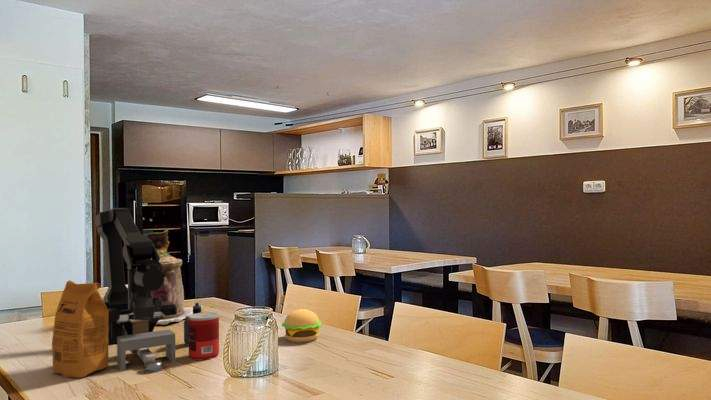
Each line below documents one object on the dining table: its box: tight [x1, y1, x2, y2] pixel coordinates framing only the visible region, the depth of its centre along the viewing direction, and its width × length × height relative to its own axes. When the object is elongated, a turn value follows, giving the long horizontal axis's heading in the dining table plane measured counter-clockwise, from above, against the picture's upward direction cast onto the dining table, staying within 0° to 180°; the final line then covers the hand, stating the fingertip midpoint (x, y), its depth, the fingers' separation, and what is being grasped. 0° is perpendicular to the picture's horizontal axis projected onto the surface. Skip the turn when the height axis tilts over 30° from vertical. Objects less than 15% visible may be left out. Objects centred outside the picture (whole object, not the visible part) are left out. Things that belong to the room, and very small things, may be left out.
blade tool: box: [129, 320, 156, 363], centre depth 134 cm, size 16×4×8 cm, turn 34°
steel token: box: [143, 359, 163, 374], centre depth 126 cm, size 4×4×2 cm
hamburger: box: [281, 308, 322, 343], centre depth 155 cm, size 12×12×9 cm
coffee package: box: [51, 280, 110, 379], centre depth 125 cm, size 10×12×22 cm
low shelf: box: [116, 328, 176, 371], centre depth 132 cm, size 6×13×7 cm, turn 124°
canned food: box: [188, 311, 220, 361], centre depth 137 cm, size 8×8×11 cm
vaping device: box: [183, 302, 202, 346], centre depth 149 cm, size 3×5×12 cm, turn 79°
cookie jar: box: [129, 229, 203, 326], centre depth 186 cm, size 25×25×32 cm
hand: (139, 343), depth 139 cm, fingers closed on blade tool, 4 cm apart
